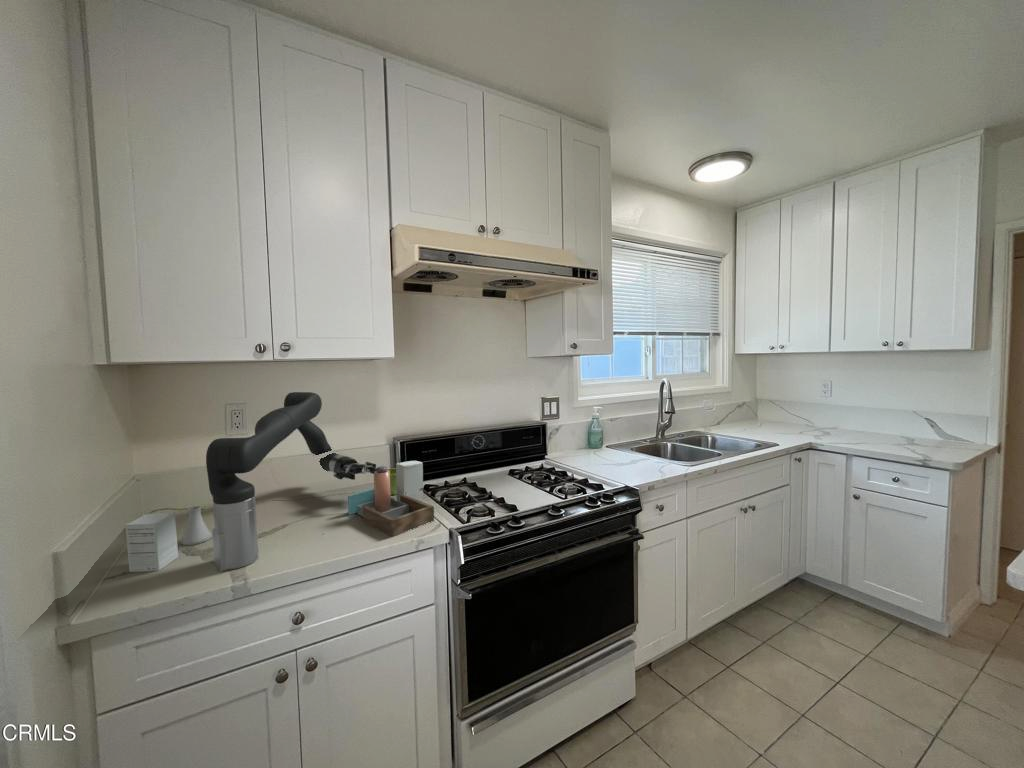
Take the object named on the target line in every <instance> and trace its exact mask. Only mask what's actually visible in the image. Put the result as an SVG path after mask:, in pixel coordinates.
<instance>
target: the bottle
mask: <svg viewBox="0 0 1024 768" xmlns="http://www.w3.org/2000/svg"><path fill="white" fill-rule="evenodd" d="M376 468H377V471H375V472H374V474H373V485H374V487H373V488H374V494H375V510H376V511H379V512H381V513H382V512H385V511H388V510H391V498H392V495H391V494H390V471H389V470H387V469H388V468H387V466H383V465H381V466H376Z"/></svg>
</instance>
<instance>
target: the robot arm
mask: <svg viewBox="0 0 1024 768" xmlns="http://www.w3.org/2000/svg"><path fill="white" fill-rule="evenodd" d="M322 404H323V401H322V398H321V396H320V395H319V394H318V393H315V392H310V391H309V392H308V391H307V392H306V391H294V392H293V391H292V392H289V393H287V394H286V396H285V398H284V402H283V407H280V408H277V409H273V410H272V411H270V412H268V413H266V414H265V415H263V416H262V417H261V418H260V419H259V420H258V421H257V422H256V424H255V425H254V435H251V436H248V437H221V438H215V439H214V440H213V441H211V442H210V443H209V445H208V447H207V450H206V455H205V465H206V473H207V481H208V487H209V492H210V494H211V496H212V504H213V506H212V507H213V519H214V521H213V522H214V528H212V540H213V541H212V542H213V543H212V544H213V558H214V565H215V566H216V567H217V568H218V569H219V570H220V572H224V571H228V570H229V571H230V570H235V569H240V568H244V567H246V566H248V565H250V564H252V563H255V562H256V561H257V560H258V558H259V545H258V544H259V543H258V541H259V540H258V528H257V527H258V524H257V523H258V522H257V510H256V509H257V507H256V492H255V491H256V490H255V485H253V483H251V482H248V481H246V480H243V479H241V478H240V477H238V476H237V475H238V474H246V473H249V472H251V471H253V470H254V469H256V468H257V467H258V466H259V465H260V464H261V462H262V461H263V460H264V459H265V458H266V457H267V455H269V453H270V452H272V450H273V449H274V448H276V447H277V446H278V445H279V444H280V443H282V442H283V441H284V440H285V439H287V438H288V437H289V436H290V435H292V433H294V432H295V431H296V430H298V432H299V433H300V434H301V435H302V437H303V439H304V441H305V443H306V445H307V447H308V450H309V451H310V453H311V454H312V455H314V454H315V455H319V454H322V453H325V452H328V451H331V450H332V449H331V447H332V446H331V445H330V443H329V442H328V439H327V438H326V434H325V432H324V431H323V430H322V429H321V428H320V427H319V426H318V425H316V423H314V422H313V421H311V420H313V419H315V418H316V417H317V416H318V415H319V413H320V412H321V410H322ZM330 446H331V447H330ZM319 462H320V465H321V466H322V468H323V469H324V470H326V471H327V472H331V473H333V477H335V479H338V480H343V479H349V480H352V481H353V480H356V475H360V474H362V475H364V474H367V473H370V474H372V475H374V472H375V471H377V464H376V463H372V462H370V461H366V462H365V463H360V462H358V461H357V459H355V458H353V457H351V456H348V455H343V454H339V453H337V454H336V453H332V454H329V455H327V456H326V457H324V458H321V459H320V461H319ZM236 474H237V475H236Z"/></svg>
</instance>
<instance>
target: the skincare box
mask: <svg viewBox="0 0 1024 768" xmlns="http://www.w3.org/2000/svg"><path fill="white" fill-rule="evenodd" d="M395 466H396V467H395V468H396V493H397V494H396V500H399V501H400V495H405V496H408V497H411V498H413V499H416V500H419V501H421V502H424V464H423V462H422V461H418V460H409V461H403V462H402V461H401V462H397V463H395Z"/></svg>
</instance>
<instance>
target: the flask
mask: <svg viewBox="0 0 1024 768" xmlns="http://www.w3.org/2000/svg"><path fill="white" fill-rule="evenodd" d="M186 510H187V512H188V519H187V524H186V526H185V529H184V532H183V535H182V537H181V540H180V542H179V544H182V545H183V546H192V545H193V546H194V545H199V544H202V543H204V542H207V541H208V540H210V539H211V538H213V534H212V533H211V531H210V529H208V527H207V524H206V523H205V521H204V519H203V516H202V514H201V513H202V511H201V510H202V506H201V505H196V506H195V505H194V506H191V507H189V508H187V509H186Z"/></svg>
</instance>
